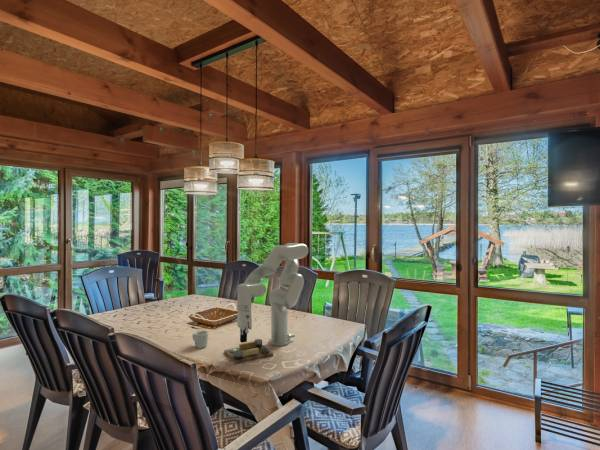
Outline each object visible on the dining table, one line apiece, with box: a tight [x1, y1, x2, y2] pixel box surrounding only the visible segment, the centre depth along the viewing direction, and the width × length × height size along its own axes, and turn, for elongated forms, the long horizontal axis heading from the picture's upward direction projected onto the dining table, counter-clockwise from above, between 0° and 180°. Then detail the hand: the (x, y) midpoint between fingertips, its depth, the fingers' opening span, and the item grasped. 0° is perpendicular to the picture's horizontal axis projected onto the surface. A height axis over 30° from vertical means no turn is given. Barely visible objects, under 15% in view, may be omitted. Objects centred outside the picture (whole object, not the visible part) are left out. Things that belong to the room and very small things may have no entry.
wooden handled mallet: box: [234, 348, 259, 359], centre depth 182 cm, size 13×4×3 cm, turn 120°
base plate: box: [223, 344, 274, 365], centre depth 189 cm, size 21×18×4 cm
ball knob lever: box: [238, 338, 263, 350], centre depth 194 cm, size 13×4×3 cm, turn 120°
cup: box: [192, 330, 209, 349], centre depth 201 cm, size 11×8×8 cm
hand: (243, 341), depth 187 cm, fingers closed
